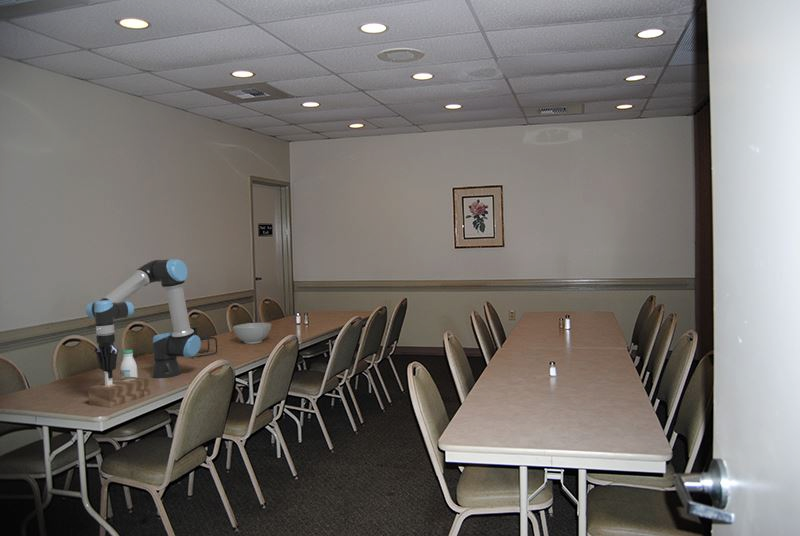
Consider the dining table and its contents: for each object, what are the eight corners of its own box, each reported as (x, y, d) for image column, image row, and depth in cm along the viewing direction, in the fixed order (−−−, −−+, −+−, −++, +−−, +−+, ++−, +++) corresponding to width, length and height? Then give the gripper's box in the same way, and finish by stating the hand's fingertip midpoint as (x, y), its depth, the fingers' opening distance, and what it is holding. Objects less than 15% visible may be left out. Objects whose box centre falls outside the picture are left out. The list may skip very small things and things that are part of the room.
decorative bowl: (277, 342, 419) (276, 325, 418) (239, 347, 406) (238, 329, 405) (265, 337, 442) (264, 321, 441) (229, 342, 429) (228, 325, 428)
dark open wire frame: (183, 356, 382) (181, 322, 381) (209, 351, 393) (207, 318, 392) (192, 358, 372) (190, 323, 371) (218, 354, 384) (216, 320, 383)
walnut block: (129, 392, 292) (128, 376, 291) (149, 394, 286) (148, 378, 285) (89, 404, 272) (88, 387, 271) (110, 407, 266) (109, 389, 266)
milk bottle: (134, 387, 303) (131, 348, 302) (141, 389, 298) (138, 349, 297) (118, 390, 297) (116, 350, 296) (125, 392, 292) (123, 352, 291)
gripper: (88, 335, 271) (91, 385, 273) (108, 336, 266) (111, 387, 267) (102, 332, 278) (106, 382, 280) (122, 333, 273) (125, 383, 274)
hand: (108, 384), depth 273 cm, fingers closed
